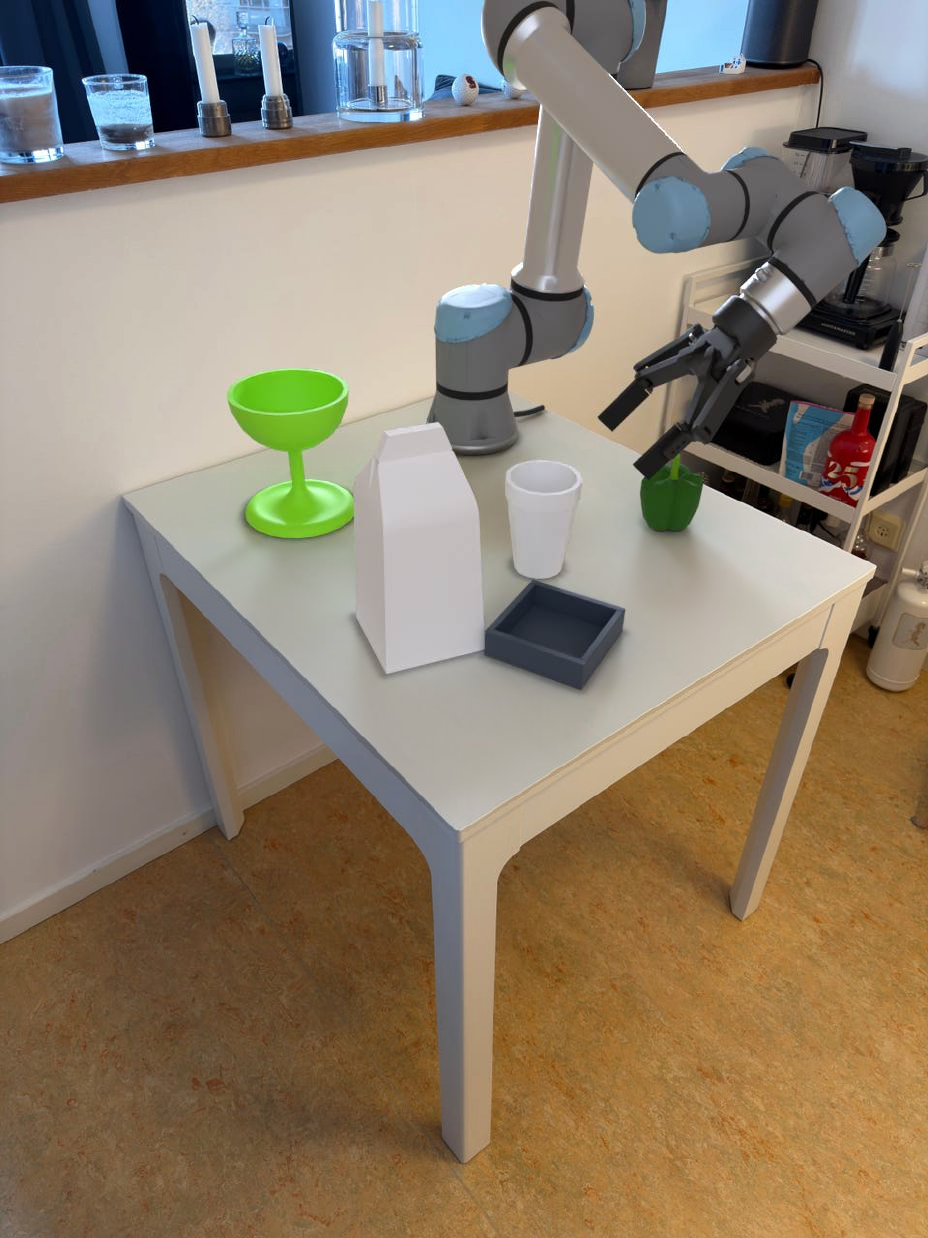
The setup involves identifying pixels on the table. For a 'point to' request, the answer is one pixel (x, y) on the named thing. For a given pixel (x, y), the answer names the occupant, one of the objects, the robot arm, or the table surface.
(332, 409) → the wineglass
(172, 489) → the table surface
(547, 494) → the foam cup
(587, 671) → the tray
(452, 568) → the milk
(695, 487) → the bell pepper
